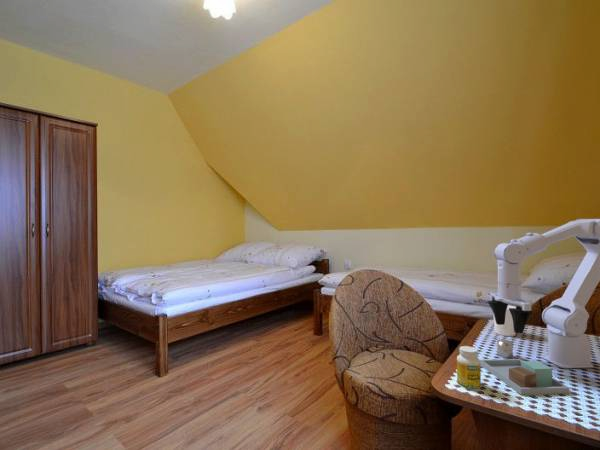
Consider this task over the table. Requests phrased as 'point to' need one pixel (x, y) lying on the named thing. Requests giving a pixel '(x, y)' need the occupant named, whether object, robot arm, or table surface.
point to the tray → (502, 372)
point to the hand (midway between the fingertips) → (509, 328)
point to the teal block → (539, 372)
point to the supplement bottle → (468, 368)
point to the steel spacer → (505, 349)
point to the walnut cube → (522, 377)
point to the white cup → (505, 324)
